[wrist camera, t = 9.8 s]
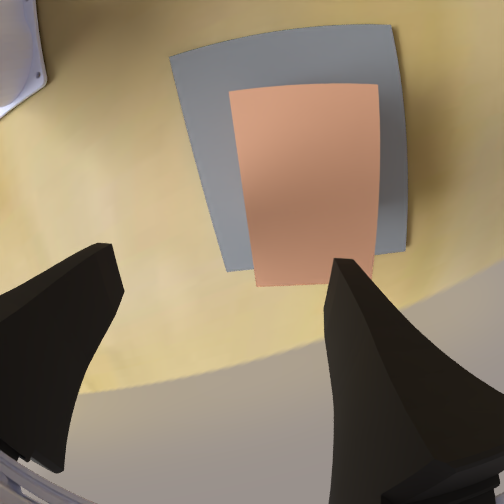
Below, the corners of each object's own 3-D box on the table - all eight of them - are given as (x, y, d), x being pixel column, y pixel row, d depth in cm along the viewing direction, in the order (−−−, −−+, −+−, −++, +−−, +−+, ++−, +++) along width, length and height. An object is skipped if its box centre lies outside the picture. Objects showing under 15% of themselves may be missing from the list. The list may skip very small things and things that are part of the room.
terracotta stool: (265, 224, 18) (256, 286, 13) (249, 88, 14) (228, 91, 9) (348, 219, 17) (371, 281, 12) (344, 83, 13) (378, 84, 8)
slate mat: (172, 57, 14) (168, 57, 13) (388, 26, 11) (391, 24, 11) (228, 267, 21) (226, 271, 20) (403, 247, 19) (405, 251, 18)
